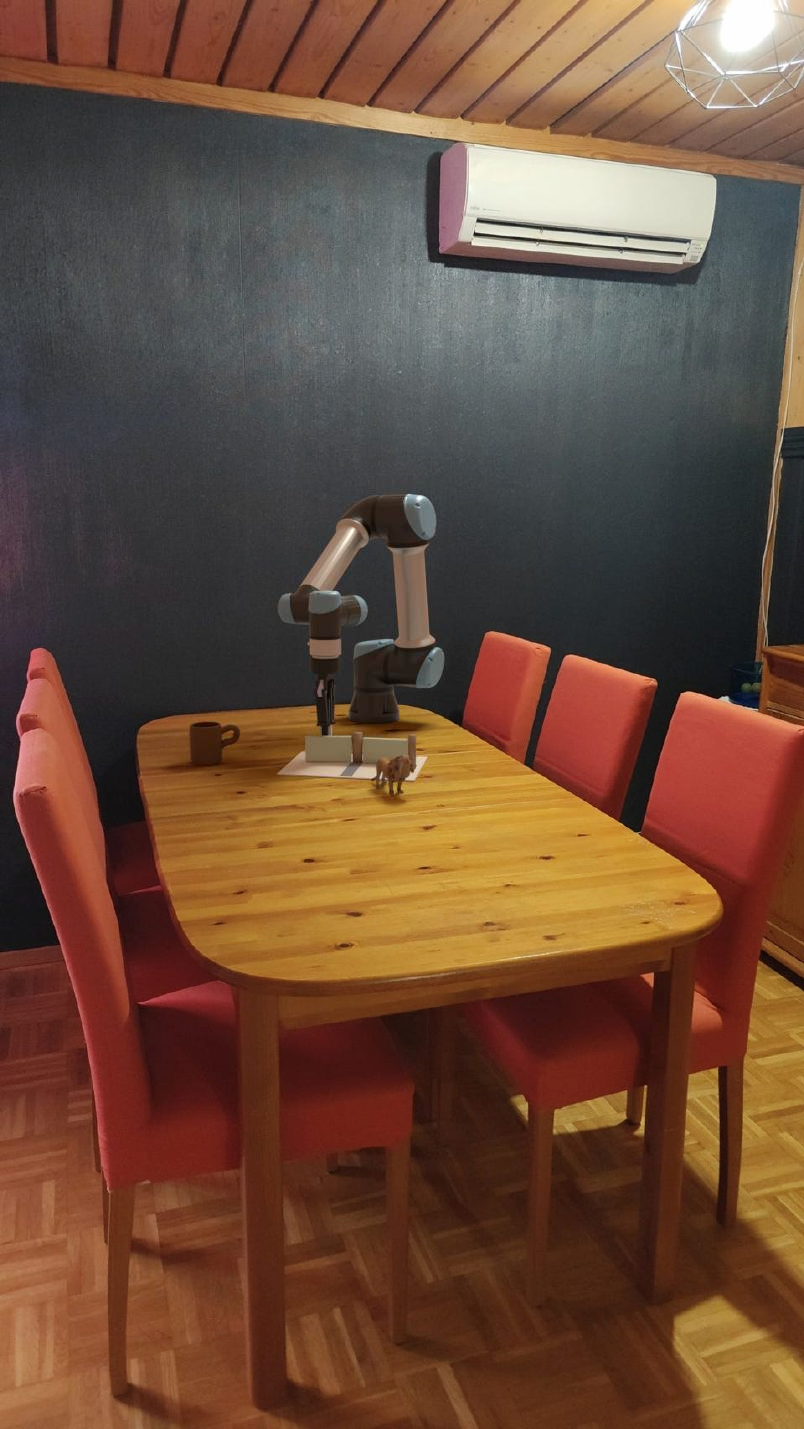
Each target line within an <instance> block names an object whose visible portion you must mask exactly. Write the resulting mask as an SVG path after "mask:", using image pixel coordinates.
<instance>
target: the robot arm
mask: <svg viewBox="0 0 804 1429" xmlns="http://www.w3.org/2000/svg"><path fill="white" fill-rule="evenodd" d="M436 527H437V516H436V512H435V508H434V505H433V503H432V502H431V501H430V499H428V498H427V497H426V496H424V495H422V494H421V495H420V494H412V493H408V494H407V493H406V494H375V495H369V496H367V497H364V498H363V499H361V500H359V501H358V502H357V503H356V504H354V505H352V506H351V507H350V508H349V509H348V510H347V511H346V512H345V513H344V514H343V515H342V516H341V518H340V519H339V521H338V522H337V524H336V526H335V531H336V532H335V533H334V535H333V537H332V538H331V540H329V542H328V544H327V545H326V547H325V548H324V550H323V552H322V553H321V554H320V555H319V557H318V559H317V561H316V562H315V563H314V564H313V567H311V569H310V570H309V572H308V573H307V575H306V576H305V578H304V579H303V581H302V583H301V584H300V585H299V587H298V589H297V590H296V592H295V593H293V592H290V593H285V594H283V595H282V596H281V597H280V599H279V600H278V604H277V613H278V616H280V619H281V621H282V622H284V623H287V624H293V625H305V626H306V625H309V641H308V642H307V646H309V655H311V656H310V658H309V671H310V673H312V674H315V675H317V680H316V681H315V687H316V688H314V689H313V692H314V697H315V707H316V708H315V709H316V719H317V720H316V721H317V722H316V724H315V725H316V727H319V736H333V725H336V721H334V720H335V711H336V710H335V708H336V707H335V706H336V689H337V680H336V679H335V678H334V675H335V674H338V673H340V672H342V658H341V657H340V656H341V655H342V637H341V636H342V634H341V633H342V629H344V628H350V627H356V626H359V625H360V624H362V623H363V622H364V621H365V620H366V618H367V616H368V612H369V610H368V605H367V603H366V601H365V599H364V598H362V597H361V596H359V595H356V594H355V595H354V594H347V595H341V593H340V592H339V591H337V590H334V589H335V587H336V585H337V584H338V582H339V581H340V579H341V578H342V576H343V575H344V573H345V571H346V570H347V569H348V567H349V565H350V564H351V562H352V561H353V559H354V558H355V556H356V555H357V553H358V551H359V550H360V549H362V548H364V547H366V545H367V544H368V543H369V541H371V540H373V539H374V540H375V539H385V540H386V547H387V549H389V550H390V551H391V552H392V559H393V571H394V585H395V586H394V587H395V599H396V600H395V601H396V613H397V626H398V637H397V638H396V639H395V640H394V639H393V638H391V639H390V638H383V639H373V640H366V641H361V642H358V643H356V644H355V646H354V649H353V650H354V651H353V658H352V659H353V688H354V690H353V691H354V692H353V695H352V699H351V702H350V705H349V708H348V713H347V714H348V716H347V719H348V720H350V721H352V722H357V723H362V724H363V723H364V724H383V723H384V724H385V723H392V722H395V721H398V720H399V719H400V716H401V715H400V713H401V712H400V708H399V704H398V701H397V699H396V695H395V688H394V686H401V687H409V688H417V689H422V688H424V689H429V688H433V687H434V686H436V685H437V683H438V682H439V680H440V679H441V677H442V674H443V670H444V665H445V654H444V651H443V649H442V648H441V647H436V638H435V637H433V635H431V634H430V625H429V622H430V621H429V608H428V593H427V592H428V590H427V579H426V578H427V576H426V562H425V550H426V548H427V547H428V546H429V545H430V539H432V538H433V537H434V536H435V534H436Z"/></svg>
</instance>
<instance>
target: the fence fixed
mask: <svg viewBox="0 0 804 1429" xmlns="http://www.w3.org/2000/svg"><path fill="white" fill-rule="evenodd" d="M351 733H352V734H351V749H352V753H353V762H354V763H361V762H363V763H377V761H378V760H379V759H380V758H382V757H385V758H388V759H389V760H390V761H391V760H392V759H395V758H396V757H398V756H401V755H408V756H409V759H410V760H411V761H412V762H413V763H414V764H416V756H417V734H415V733H409V734H408V735H407V738H392V737H391V738H389V737H370V736H369V737H367V736H366V737H365V736H363V732H362V731H353V732H351ZM362 754H363V759H362Z"/></svg>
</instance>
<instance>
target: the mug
mask: <svg viewBox="0 0 804 1429" xmlns="http://www.w3.org/2000/svg"><path fill="white" fill-rule="evenodd" d="M221 725H222V724H221V723H220V722H218V721H198V722H192V723H191V724H190V725H189V731H188V734H189V754H190V756H189V757H190V762H191V764H192V765H195V766H198V765H199V767H200V766H201V767H202V766H203V767H206V766H207V767H208V766H209V767H211V766H216V765H219V764H220V763H222V761H223V749H224V748H226V747H228V746H231V745H234V744H236V743H237V742H238V741H239V739H240V736H241V730H240V728H239V727H238V726H237V725H234V724H231V723H230V724H227V725H225V726H221ZM230 731H231V732H233V735H232V736H231V737H229V738H224V739H223V734H226V733H228V732H230Z"/></svg>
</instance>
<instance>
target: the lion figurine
mask: <svg viewBox="0 0 804 1429" xmlns="http://www.w3.org/2000/svg"><path fill="white" fill-rule="evenodd" d="M416 766H417V765H416V764H414V763H413V762H412V761H411V760H410V759H409V756H408V755H401V756H398V757H396V758H395V759H392V760H391V761H390V760H389V759H388V758H385V757H382V758H380V759H379V760H378V761H377V765H376V777H374V778H372V779H371V780H370V781H372V782H375V786H374V788H375V789H376V790H377V789H381V784H383V785H388V796H389V797H393V796H395V791H394V783H396V784H397V786H396V792H397V793H398V794H401V795H402V794H403V793H404V791H405V790H402V785H403V782H406V781H405V779H406V778H407V777H408V776H409V775H410V772H411V773H414V770H415V769H416ZM381 772H382V773H383V774H382V779H381V780H379V779H380V775H381ZM385 778H387V779H388V780H385ZM380 781H381V782H380ZM380 783H381V784H380ZM387 783H388V784H387Z"/></svg>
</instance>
